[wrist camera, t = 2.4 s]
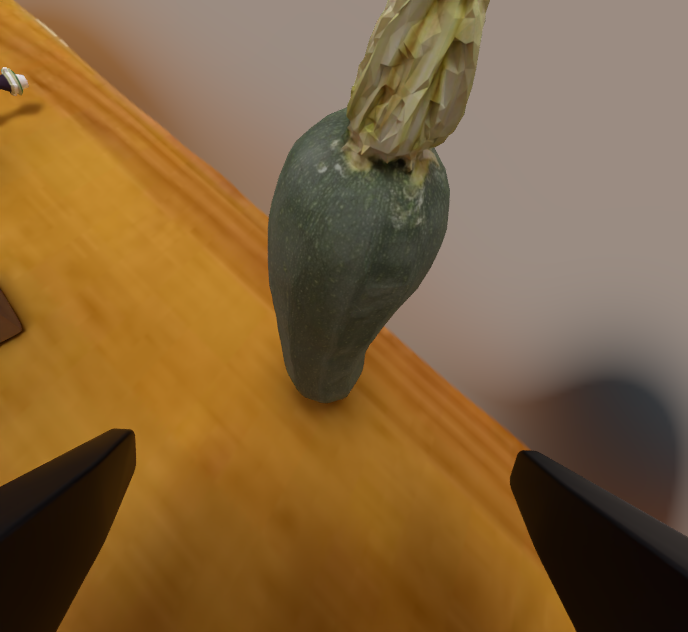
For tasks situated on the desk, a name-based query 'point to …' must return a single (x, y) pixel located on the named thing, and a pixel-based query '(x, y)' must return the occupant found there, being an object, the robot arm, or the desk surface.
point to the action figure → (12, 82)
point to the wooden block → (7, 320)
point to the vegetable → (369, 193)
